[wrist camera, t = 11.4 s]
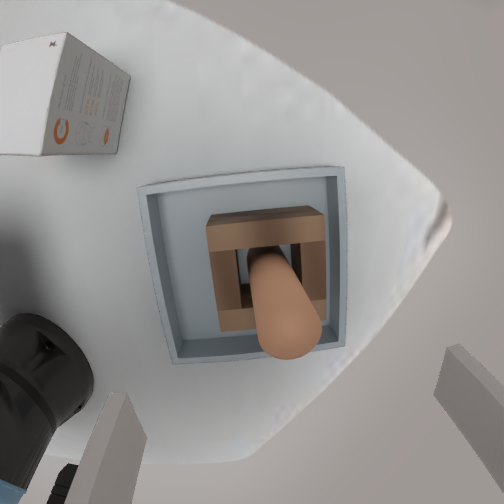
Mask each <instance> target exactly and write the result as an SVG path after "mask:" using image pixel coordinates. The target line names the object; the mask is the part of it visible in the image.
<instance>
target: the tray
mask: <svg viewBox="0 0 504 504" xmlns="http://www.w3.org/2000/svg"><path fill="white" fill-rule="evenodd" d="M137 190H138V198H139V205H140V211H141V218H142V224H143V230H144V236H145V242H146V248H147V253H148V259H149V264H150V269H151V274H152V279H153V284H154V289H155V294H156V298H157V303H158V307H159V312H160V316H161V320H162V324H163V328H164V332H165V337H166V340H167V344H168V348H169V352H170V356H171V360H172V363H173V364H192V363H209V362H223V361H235V360H246V359H256V358H265V357H272V356H270V355H269V354H267V353H266V352H265V351H264V350H263V349H262V347H261V346H260V344H259V341H258V335H257V329H249V330H239V331H228V332H221V331H220V325H219V318H218V312H217V306H216V299H215V292H214V286H213V279H212V272H211V265H210V257H209V250H208V243H207V235H206V227H205V226H206V224H207V222H208V220H209V218H210V216H211V215H212V214H222V213H231V212H240V211H250V210H261V209H271V208H282V207H293V206H305V205H309V206H311V207H313V208H314V209H316V210H318V211H319V212H321V213H322V214H324V215H325V239H326V290H327V312H326V320H323V321H321V323H322V333H321V337H320V339H319V341H318V343H317V344H316V346H315V347H314V348H313V349H312V350H311V351H310V352H312V351H319V350H325V349H331V348H337V347H343V346H345V335H346V313H347V208H346V185H345V168H344V167H339V166H320V167H303V168H288V169H275V170H263V171H252V172H241V173H232V174H222V175H213V176H205V177H197V178H189V179H182V180H174V181H167V182H161V183H154V184H149V185H145V186H141V187H138V188H137ZM279 246H280V248H281V249H282V251H283V253H284V255H285V256H286V258H287V260H288V262H289V264H290V265H291V267H292V264H291V248H290V244H284V245H279ZM248 250H249V248H245V249H237V253H238V262H239V271H240V280H241V284H247V283H250V281H249V274H248V267H247V259H246V257H247V252H248Z"/></svg>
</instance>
